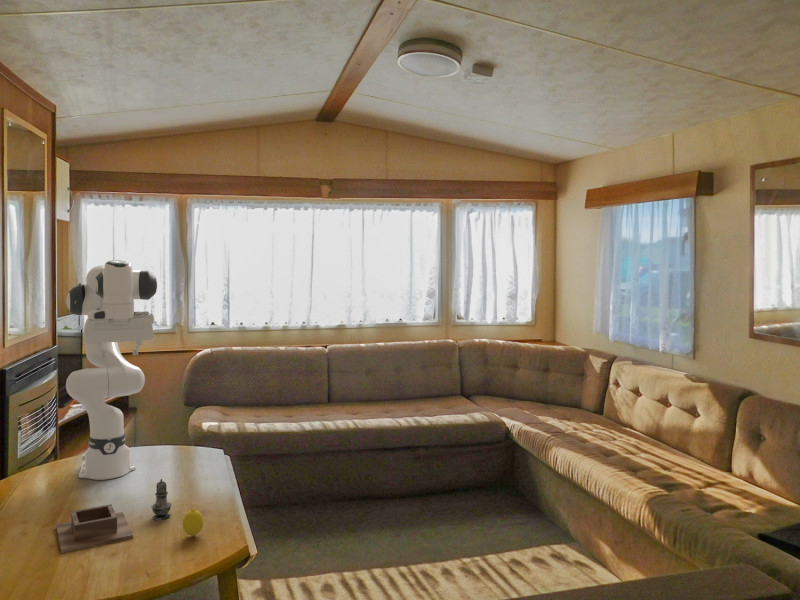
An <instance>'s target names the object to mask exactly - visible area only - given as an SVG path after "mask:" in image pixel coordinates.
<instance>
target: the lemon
mask: <svg viewBox="0 0 800 600" xmlns="http://www.w3.org/2000/svg"><path fill="white" fill-rule="evenodd" d="M182 521H183V522H182V527H183V531H184V532H185V534H186V535H189V536H191V537H196V535H198V534H199V533H201V531H202V529H203V526H204V517H203V515H202V512H201V511H199V510H197V509H195V508H193V509H191V510H189V511H188V512H186V514H185V515H184V517H183V520H182Z"/></svg>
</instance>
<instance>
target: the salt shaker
mask: <svg viewBox="0 0 800 600" xmlns="http://www.w3.org/2000/svg"><path fill="white" fill-rule="evenodd" d="M155 488H156V489H155V490H156V492H155V496H156V498H155V500H156V501H155V503H153V504H152V505H151V507H150V508H151V509H152V512H153V514H154V515H153V516H152V520H153V521H156V520H157V521H160V520H161V521H166V520H168V519H170V518H171V517H172V515H171V514H170V513H169V512H170V511H171V508H172V503H171V502H169V501H168V499H167V498H168V497H167V496H168V493H169V491H167V482H166V481H163V479H162V478H160V480H159V481H158V482H157V483H156V487H155ZM170 516H171V517H170Z"/></svg>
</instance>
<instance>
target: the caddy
mask: <svg viewBox="0 0 800 600" xmlns="http://www.w3.org/2000/svg"><path fill="white" fill-rule="evenodd" d="M55 528H56V532H57V533H58V534H57V537H58V538H57V539H58V544H59V548H60V549H61V550H60V549H59V550H60V554H63V553H62V552H65V553H69V551H70V552H73V550H75V551H79V550H78V549H80V550H83V549H84V550H85V549H89V548H93V547H98V546H103V545H107V544H113V543H117V542H123V541H127V540H132V539H134V534H133V532H132V530H131V528H130V525H129V523H128V521H127V518H126V517H125V513H124V511H121V512H115V509H114V507H113V505H112V504H105V505H99V506H93V507H88V508H83V509H78V510H77V509H76V510H73V511H70V521H67V522H61V523H56V526H55Z"/></svg>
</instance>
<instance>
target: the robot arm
mask: <svg viewBox="0 0 800 600" xmlns="http://www.w3.org/2000/svg"><path fill="white" fill-rule="evenodd" d="M85 283H86V284H85ZM85 283H83V284H82V283H81V282H79V283H78V285H76V286H74V287H72V288H71V289H70V290H69V291H68V293H67V296H66V299H65V300H66V301H65V302H66V306H67V309H68V311H69V313H70V314H72V315H75V316H83V315H84V316H87V318H86V319H85V322H84V325H83V332H82V333H83V334H82V335H83V337H82V338H83V341H84V347H85V357H86V359H87V360H88V361H89V363H90V364H92V365H93V366H94V367H91V368H87V367H86V368H83V369H78V370H74V371H72V372H71V373H70V374H69V375H68V377H67V378H66V383H65V389H66V392H67V394H68V395H69V396H70V397H71V398H72V399H74V400H75V401H77V402H78V403H79V404H81V405H82V407H83V408H84V409H85V410H86V413H87V416H88V421H89V436H88V449H87V451H86V453H84V454H82V455H81V460H82V464H81V468H80V471H79V472H78V478H79V479H90V480H95V481H96V480H98V481H99V480H100V481H101V480H111V479H115V478H119V477H123V476H125V475H127V474H128V473H130V472H132V471H134V470H136V466H135V465H134V464H133V463H131V452H130V451H131V450H130V447H129V446H127V445H126V433H125V432H124V431H125V430H124V428H125V427H124V426H125V424H124V423H125V422H124V420H125V419H124V418H125V417H124V413H123V412H122V410H121V409H120V408H118V407H115V406H113V405H111V404H110V405H109V404H107V403H106V401H105V400H106V399H107V398H117V397H126V396H131V395H133V394H134V395H135V394H137V393H140V392H141V391H142V389H144V386H145V384H146V383H145V381H146V376H145V374H144V371H143V370H142V369H141V368H140V367H139V366H137V365H134V364H133V363H132V362H131V363H130V362H129V361H127V360H126V358H124V356H123V354H122V353H121V351H120V346H119V343H118V342H120V343H122V342H135V343H136V344H137V345H136V346H135V348H132V349H131V351H132V356H137V355H139V349H140V348H141V347H142V344H143V343H142V342H143V341H152V340H153V339H154V327H153V324H154V322H155V321H154V320H155V319H154V318H155V317H154V315H153V313H151V312H150V311H135V301H134V300H144V301H147V300H148V301H149V300H150V299H152V297H154V295H156V293H157V290H158V281H157V277H156V275H155V274H154V273H153V272H152V271H151V270H149V269H139V270H138V269H137V270H135V269H133V267H132V263H131V262H129V261H126V260H120V259H119V260H118V259H116V260H114V259H113V260H109V261H107V262H105V263H104V265H97V266H94V267H93V268H91V269H90V270H89V271H88V273H87V274H86V277H85ZM95 366H96V367H95Z"/></svg>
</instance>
